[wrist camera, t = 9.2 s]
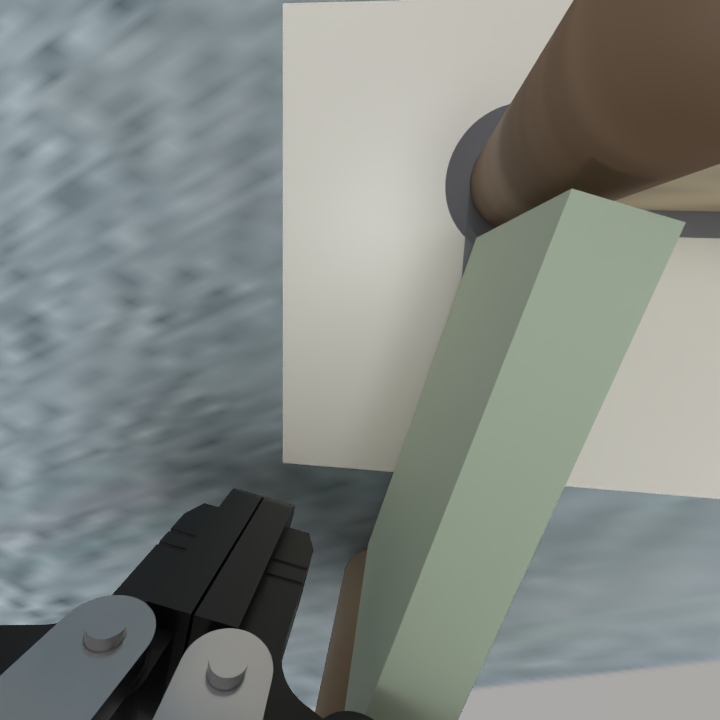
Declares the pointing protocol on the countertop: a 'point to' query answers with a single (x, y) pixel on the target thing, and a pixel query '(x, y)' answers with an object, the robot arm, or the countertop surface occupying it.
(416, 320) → the card
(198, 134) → the countertop surface
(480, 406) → the fence gate
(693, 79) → the fence fixed
